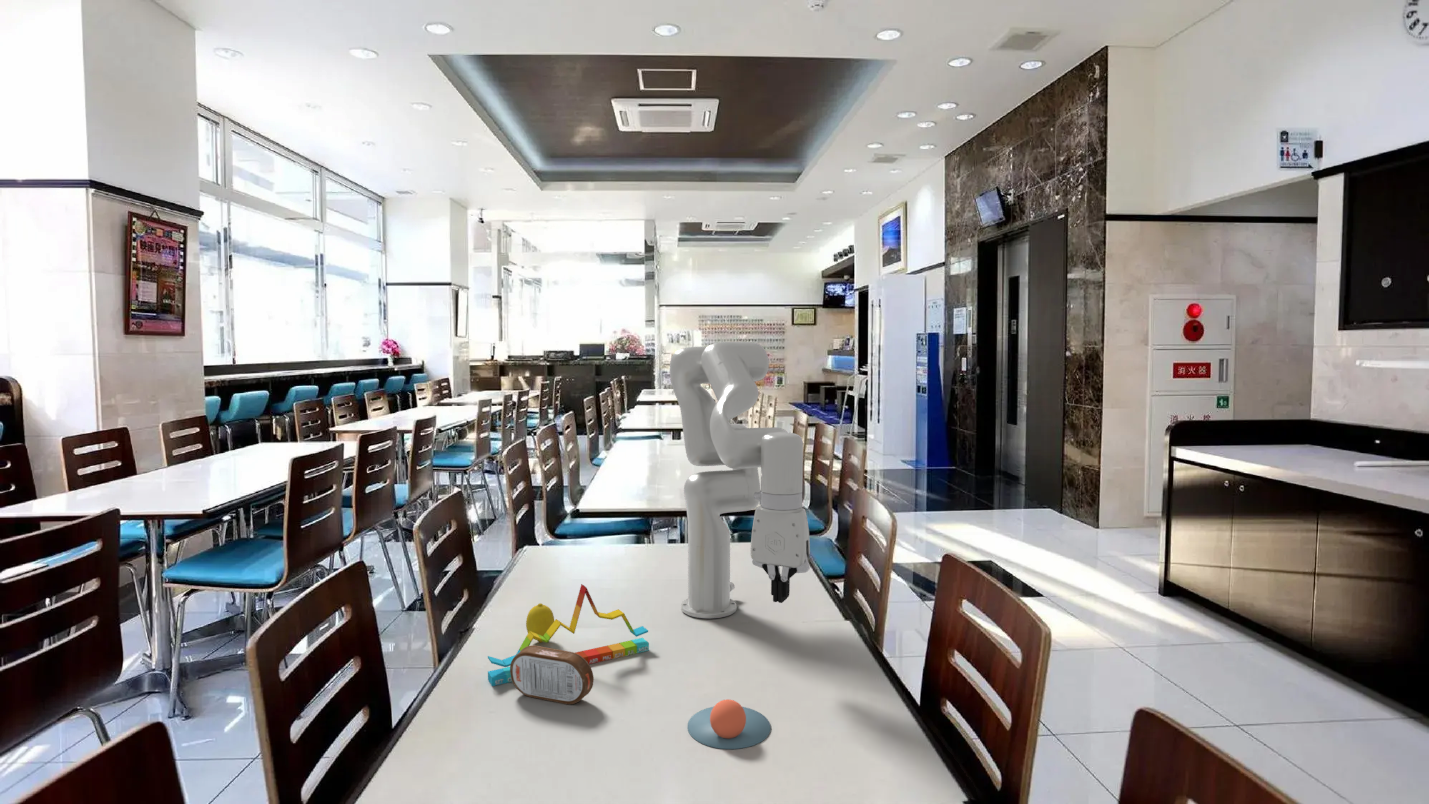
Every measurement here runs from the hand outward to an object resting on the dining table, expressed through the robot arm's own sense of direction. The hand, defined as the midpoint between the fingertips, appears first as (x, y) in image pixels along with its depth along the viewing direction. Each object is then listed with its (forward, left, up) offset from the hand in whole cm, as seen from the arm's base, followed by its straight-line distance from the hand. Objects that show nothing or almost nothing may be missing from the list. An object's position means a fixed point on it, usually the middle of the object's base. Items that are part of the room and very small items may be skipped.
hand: (780, 599), depth 133 cm
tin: (+27, -31, -14) cm, 43 cm away
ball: (+25, +1, -11) cm, 27 cm away
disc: (+22, 0, -13) cm, 26 cm away
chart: (+15, -36, -14) cm, 41 cm away
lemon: (+9, -48, -14) cm, 51 cm away
